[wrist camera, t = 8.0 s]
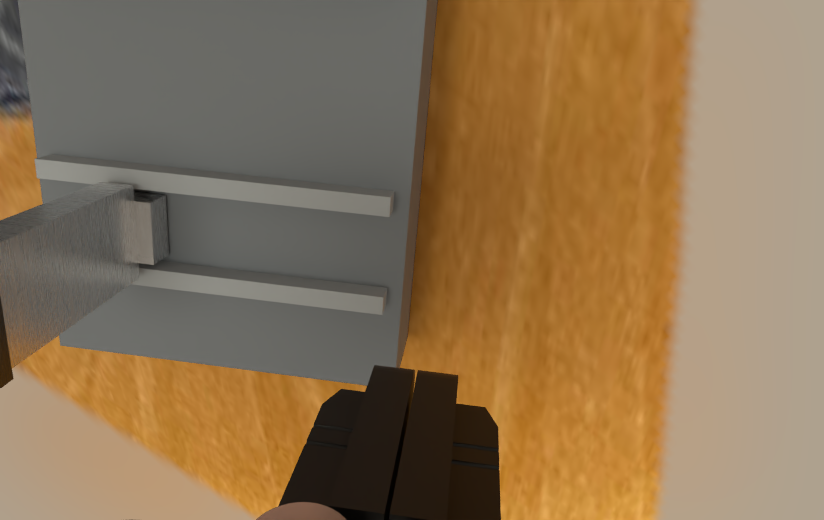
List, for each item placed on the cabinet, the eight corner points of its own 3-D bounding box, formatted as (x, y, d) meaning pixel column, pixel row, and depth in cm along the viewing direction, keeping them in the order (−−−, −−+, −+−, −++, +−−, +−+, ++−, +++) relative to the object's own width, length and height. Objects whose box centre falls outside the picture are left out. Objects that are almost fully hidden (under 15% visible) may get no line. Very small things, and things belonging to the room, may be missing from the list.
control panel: (70, -297, 19) (-70, -409, 14) (462, -276, 18) (454, -388, 14) (120, 300, 26) (38, 361, 21) (407, 336, 25) (389, 408, 20)
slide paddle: (103, 169, 20) (-126, 252, 12) (164, 176, 20) (-31, 264, 12) (112, 264, 21) (-95, 392, 14) (169, 271, 21) (-7, 404, 13)
